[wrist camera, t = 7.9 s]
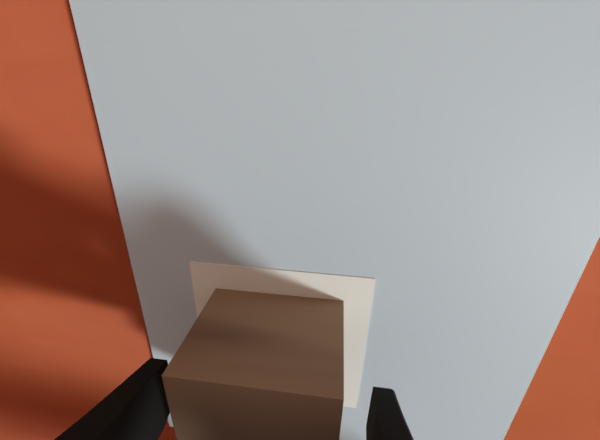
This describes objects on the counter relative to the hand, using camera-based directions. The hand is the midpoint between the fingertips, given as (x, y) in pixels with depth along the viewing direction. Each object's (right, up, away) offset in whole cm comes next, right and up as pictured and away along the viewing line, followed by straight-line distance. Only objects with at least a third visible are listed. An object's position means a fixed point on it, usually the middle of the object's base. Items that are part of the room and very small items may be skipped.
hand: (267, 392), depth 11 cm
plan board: (+2, +4, +1) cm, 5 cm away
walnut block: (0, +1, +2) cm, 2 cm away
